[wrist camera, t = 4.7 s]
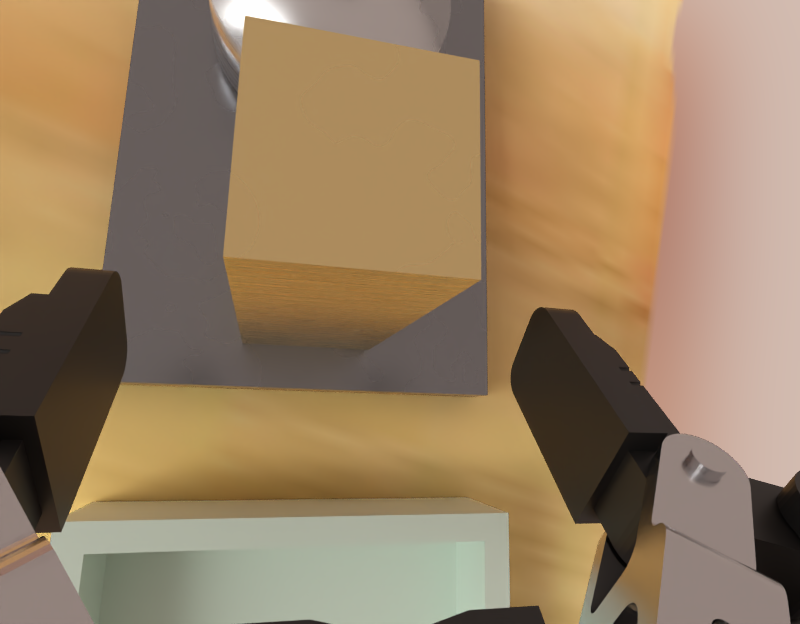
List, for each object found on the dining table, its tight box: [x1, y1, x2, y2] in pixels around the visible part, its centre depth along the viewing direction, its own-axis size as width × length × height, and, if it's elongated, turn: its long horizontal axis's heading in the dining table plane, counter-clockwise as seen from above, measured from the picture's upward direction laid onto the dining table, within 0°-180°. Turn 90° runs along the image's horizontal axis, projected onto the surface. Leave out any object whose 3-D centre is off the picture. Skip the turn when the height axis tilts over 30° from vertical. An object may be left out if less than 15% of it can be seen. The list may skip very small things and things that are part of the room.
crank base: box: [103, 0, 488, 397], centre depth 16 cm, size 13×18×10 cm
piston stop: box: [223, 15, 481, 350], centre depth 14 cm, size 4×4×10 cm
